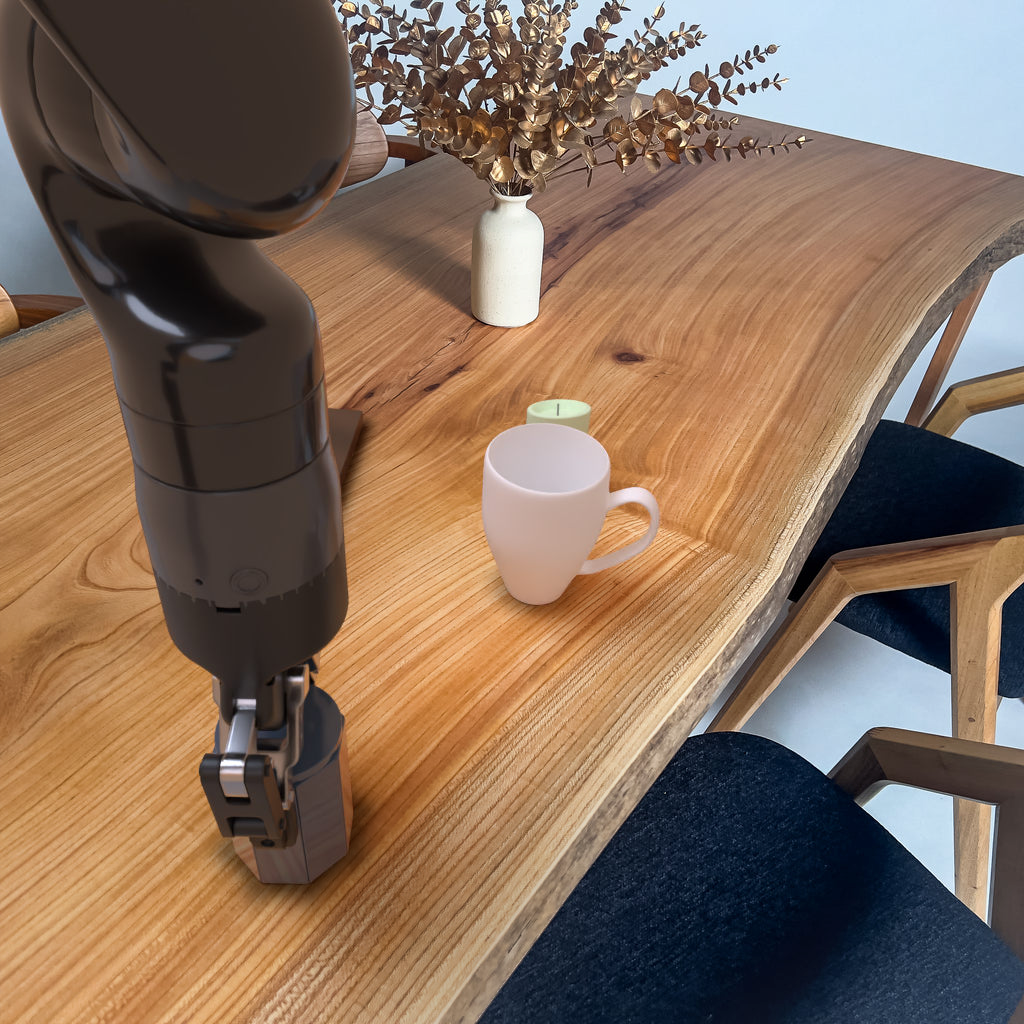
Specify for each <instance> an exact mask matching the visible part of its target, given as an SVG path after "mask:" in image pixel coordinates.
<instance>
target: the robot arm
mask: <svg viewBox="0 0 1024 1024" xmlns="http://www.w3.org/2000/svg"><path fill="white" fill-rule="evenodd" d="M355 79H356V78H355V74H354V69H353V64H352V60H351V56H350V51H349V48H348V44H347V41H346V36H345V33H344V31H343V28H342V26H341V23H340V21H339V18H338V15H337V12H336V10H335V8H334V5H333V3H332V0H0V112H1V116H2V119H3V123H4V127H5V130H6V133H7V137H8V139H9V141H10V144H11V148H12V150H13V152H14V155H15V158H16V160H17V163H18V165H19V168H20V170H21V172H22V175H23V178H24V179H25V182H26V184H27V187H28V189H29V191H30V193H31V195H32V198H33V199H34V201H35V204H36V205H37V209H38V210H39V212H40V214H41V217H42V219H43V221H44V223H45V226H46V228H47V230H48V232H49V234H50V236H51V238H52V240H53V242H54V244H55V246H56V248H57V251H58V253H59V255H60V257H61V259H62V261H63V264H64V265H65V268H66V270H67V271H68V274H69V276H70V278H71V281H72V282H73V284H74V286H75V288H76V290H77V291H78V293H79V294H80V297H81V299H82V300H83V302H84V303H85V305H86V307H87V308H88V310H89V312H90V314H91V316H92V317H93V320H94V322H95V324H96V326H97V328H98V330H99V332H100V334H101V336H102V339H103V341H104V343H105V347H106V349H107V352H108V356H109V361H110V367H111V374H112V379H113V384H114V385H113V386H114V390H115V393H116V397H117V401H118V406H119V410H120V415H121V418H122V422H123V425H124V430H125V434H126V435H125V436H126V438H127V442H128V443H127V444H128V446H129V450H130V454H131V461H132V467H133V476H134V477H133V478H134V479H133V480H134V494H135V495H134V496H135V502H136V508H137V512H138V517H139V520H140V524H141V529H142V533H143V537H144V540H145V544H146V548H147V552H148V557H149V562H150V565H151V569H152V574H153V577H154V581H155V584H156V588H157V593H158V596H159V601H160V604H161V609H162V613H163V616H164V621H165V625H166V629H167V633H168V635H169V638H170V640H171V641H172V644H174V646H175V647H176V648H177V650H178V651H179V652H180V653H181V655H183V656H184V657H186V658H187V659H188V660H190V661H191V662H193V663H194V664H196V665H197V666H199V667H200V668H201V669H203V670H205V671H206V672H207V673H209V674H211V675H212V678H211V682H212V683H211V684H212V685H211V688H212V689H211V690H212V700H213V702H214V703H215V705H216V706H217V708H218V720H219V734H220V754H219V753H212V752H206V753H204V755H203V757H202V759H201V761H200V764H199V767H198V775H199V781H200V784H201V787H202V789H203V793H204V795H205V797H206V799H207V802H208V805H209V807H210V809H211V812H212V815H213V818H214V820H215V822H216V825H217V827H218V829H219V833H220V835H221V837H222V838H228V839H229V838H231V839H232V838H234V837H249V840H250V842H251V843H252V844H253V847H254V848H255V849H276V850H286V847H291V846H294V845H295V844H296V841H297V835H298V823H297V817H296V810H295V804H294V795H295V792H294V790H293V766H294V765H295V764H296V763H297V762H298V759H299V757H300V754H301V752H302V749H303V746H304V700H305V698H306V696H307V694H308V691H309V683H310V684H313V685H315V686H316V681H317V678H318V675H319V674H320V671H321V665H320V663H321V653H322V650H323V649H325V648H326V647H327V646H328V645H329V644H330V643H331V642H332V641H333V640H334V639H335V637H336V636H337V634H338V633H339V632H340V630H341V628H342V627H343V625H344V622H345V621H346V617H347V615H348V611H349V605H350V603H349V602H350V600H349V599H350V597H349V596H350V595H349V584H348V571H347V558H346V556H347V555H346V544H345V541H346V540H345V529H344V514H343V500H342V498H343V497H342V489H341V486H340V478H339V472H338V467H337V462H336V458H335V454H334V451H333V447H332V442H331V436H330V430H329V416H328V408H329V405H328V391H327V379H326V378H327V377H326V366H325V355H324V348H323V338H322V332H321V327H320V322H319V317H318V315H317V311H316V308H315V305H314V304H313V301H312V300H311V298H310V296H309V295H308V293H306V292H305V290H304V289H303V288H302V287H301V286H300V285H299V284H298V283H297V282H296V281H295V280H294V279H293V278H292V277H291V276H289V274H287V273H286V272H285V271H284V270H283V269H282V268H280V267H279V266H278V265H277V264H276V263H274V262H273V260H272V259H270V258H269V257H268V256H267V255H266V254H265V252H263V250H261V248H260V247H259V246H258V245H257V243H256V242H255V240H256V241H257V240H266V239H268V240H269V239H273V238H277V237H281V236H283V235H284V236H285V235H287V234H289V233H292V232H294V231H297V230H298V229H301V228H302V227H304V226H305V225H307V224H308V223H309V222H312V221H313V220H314V219H315V218H317V217H318V216H319V214H320V213H322V212H323V210H324V209H325V208H327V206H328V205H329V204H330V203H331V202H332V201H333V199H334V198H335V197H336V195H337V194H338V192H339V190H340V188H341V186H342V184H343V182H344V181H345V178H346V175H347V173H348V170H349V168H350V165H351V161H352V157H353V153H354V149H355V144H356V139H357V129H358V127H357V126H358V103H357V102H358V98H357V87H356V80H355ZM286 724H287V737H286V738H257V735H258V731H278V730H280V729H282V728H283V727H285V726H286ZM273 768H275V769H276V771H277V781H276V780H275V776H274V772H273Z"/></svg>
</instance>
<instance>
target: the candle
mask: <svg viewBox="0 0 1024 1024" xmlns="http://www.w3.org/2000/svg"><path fill="white" fill-rule="evenodd" d="M591 416H592V407H591V406H590V404H588V403H586V402H584V401H580V400H575V399H566V398H565V399H564V398H562V399H561V398H559V399H558V398H557V399H547V400H541V401H537V402H535V403H532V404H531V405H529V406H528V407H527V409H526V419H525V424H533V423H549V424H558V425H563V426H567V427H571V428H574V429H577V430H579V431H582V432H584V433H586V434H588V435H589V430H590V424H591V423H590V422H591Z"/></svg>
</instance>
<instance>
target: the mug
mask: <svg viewBox="0 0 1024 1024" xmlns="http://www.w3.org/2000/svg"><path fill="white" fill-rule="evenodd" d="M611 465H612V464H611V459H610V455H609V454H608V452H607V450H606V449H605V447H604V446H603V445H602V444H601V443H600V442H599V441H598V440H597V439H595V438H594V437H593V436H591V435H589V433H588V434H586V433H584V432H582V431H579V430H577V429H574V428H571V427H567V426H563V425H558V424H549V423H533V424H526V423H525V424H520V425H516V426H513V427H510V428H508V429H506V430H503V431H502V432H500V433H499V434H497V435H496V436H495V437H494V438H493V439H492V440H491V441H490V443H489V444H488V446H487V448H486V450H485V454H484V460H483V471H482V472H483V473H482V489H481V490H482V493H481V519H482V525H483V532H484V535H485V539H486V542H487V545H488V548H489V550H490V552H491V555H492V557H493V559H494V562H495V564H496V567H497V570H498V572H499V574H500V576H501V579H502V581H503V584H504V586H505V588H506V590H507V592H508V593H509V594H510V596H512V597H513V598H514V599H515V600H517V601H519V602H521V603H524V604H526V605H533V606H534V605H535V606H543V605H547V604H551V603H553V602H555V601H556V600H558V599H559V598H560V597H561V596H562V595H563V594H564V592H565V591H566V590H567V588H568V587H569V585H570V584H571V582H572V581H573V580H574V578H576V576H578V575H579V576H587V575H594V574H597V573H599V572H602V571H605V570H607V569H610V568H613V567H615V566H618V565H620V564H622V563H625V562H627V561H629V560H632V559H633V558H635V557H637V556H639V555H640V554H643V552H644V551H646V550H647V549H648V548H649V547H650V546H651V545H652V543H653V542H654V540H655V538H656V536H657V534H658V531H659V527H660V521H661V513H660V507H659V504H658V501H657V500H656V497H655V496H654V495H653V494H652V493H651V492H650V491H649V490H648V489H646V488H643V487H639V486H632V487H626V488H623V489H619V490H616V491H613V492H610V481H611V473H612V471H611V469H612V468H611V467H612V466H611ZM630 503H635V504H639V505H641V506H642V507H644V508H645V510H646V511H647V512H648V514H649V516H650V522H649V526H648V528H647V530H646V532H645V533H644V534H643V535H642V536H641V537H640V538H638V539H637V540H635V541H634V542H632V543H630V544H628V545H626V546H624V547H621V548H619V549H617V550H614V551H613V552H610V553H608V554H605V555H602V556H600V557H597V558H594V559H588V558H589V556H590V554H591V553H592V551H593V549H594V547H595V546H596V544H597V542H598V540H599V537H600V535H601V533H602V530H603V527H604V524H605V521H606V519H607V515H608V513H609V512H610V511H612V510H614V509H616V508H618V507H620V506H623V505H626V504H630Z"/></svg>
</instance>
